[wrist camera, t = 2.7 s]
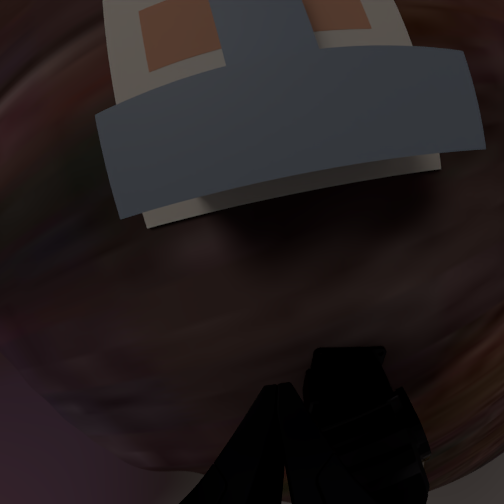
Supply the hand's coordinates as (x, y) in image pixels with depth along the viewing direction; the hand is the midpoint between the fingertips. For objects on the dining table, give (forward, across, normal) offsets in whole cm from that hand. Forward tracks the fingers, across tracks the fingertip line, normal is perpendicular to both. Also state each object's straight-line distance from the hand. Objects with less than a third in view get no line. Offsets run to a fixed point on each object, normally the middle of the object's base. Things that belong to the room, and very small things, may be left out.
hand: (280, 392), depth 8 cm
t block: (+13, -3, -13) cm, 18 cm away
